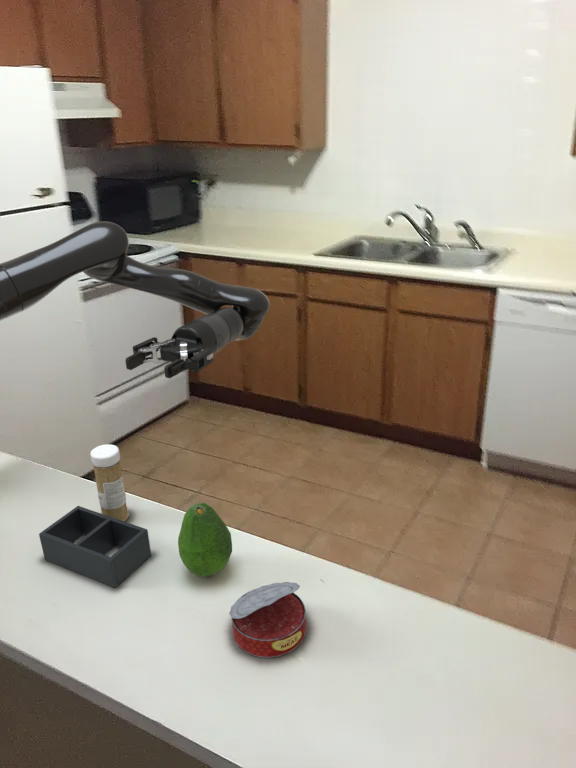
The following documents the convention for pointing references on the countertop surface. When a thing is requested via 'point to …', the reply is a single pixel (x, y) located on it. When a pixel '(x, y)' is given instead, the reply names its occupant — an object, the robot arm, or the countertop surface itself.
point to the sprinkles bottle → (109, 481)
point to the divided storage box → (96, 545)
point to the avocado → (204, 541)
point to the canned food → (269, 620)
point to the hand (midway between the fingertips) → (146, 368)
